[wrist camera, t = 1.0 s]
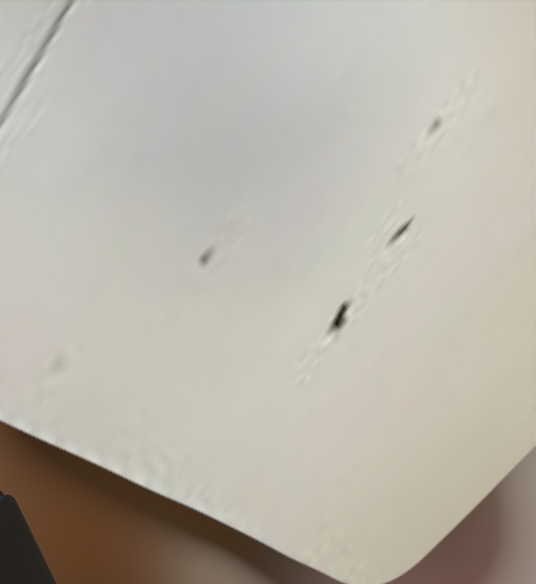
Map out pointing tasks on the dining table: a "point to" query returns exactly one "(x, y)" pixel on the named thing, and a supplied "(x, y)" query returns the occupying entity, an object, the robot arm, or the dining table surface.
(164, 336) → the dining table surface
